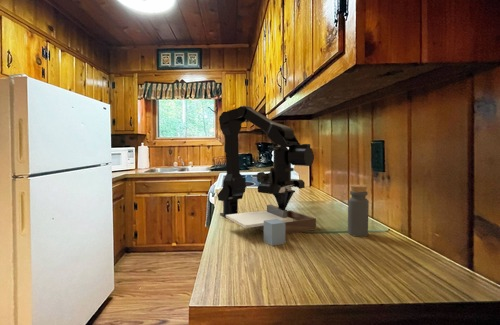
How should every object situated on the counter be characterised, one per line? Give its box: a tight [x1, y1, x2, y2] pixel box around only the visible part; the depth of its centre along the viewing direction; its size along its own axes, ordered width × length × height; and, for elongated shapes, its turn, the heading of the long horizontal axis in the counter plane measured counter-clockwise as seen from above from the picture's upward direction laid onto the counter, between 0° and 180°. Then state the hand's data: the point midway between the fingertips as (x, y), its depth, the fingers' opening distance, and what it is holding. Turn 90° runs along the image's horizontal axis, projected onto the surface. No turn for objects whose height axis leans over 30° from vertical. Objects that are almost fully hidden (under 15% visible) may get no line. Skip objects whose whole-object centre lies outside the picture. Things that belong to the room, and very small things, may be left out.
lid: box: [225, 204, 293, 229], centre depth 95 cm, size 14×16×3 cm
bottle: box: [347, 184, 370, 238], centre depth 91 cm, size 6×6×15 cm
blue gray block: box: [263, 219, 286, 247], centre depth 84 cm, size 4×4×6 cm
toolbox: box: [256, 209, 317, 235], centre depth 99 cm, size 14×16×4 cm
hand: (282, 211), depth 99 cm, fingers closed
